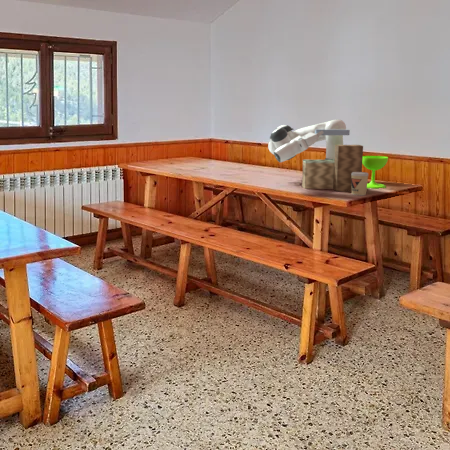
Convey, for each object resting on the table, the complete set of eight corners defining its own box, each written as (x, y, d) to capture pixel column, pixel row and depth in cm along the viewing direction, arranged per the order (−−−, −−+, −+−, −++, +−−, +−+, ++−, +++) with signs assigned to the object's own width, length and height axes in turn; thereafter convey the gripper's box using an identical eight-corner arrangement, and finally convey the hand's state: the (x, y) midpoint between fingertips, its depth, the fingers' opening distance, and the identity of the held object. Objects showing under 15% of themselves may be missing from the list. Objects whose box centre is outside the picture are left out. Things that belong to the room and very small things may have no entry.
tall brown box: (336, 191, 345) (338, 145, 340) (333, 189, 354) (335, 144, 349) (360, 191, 346) (363, 145, 341) (356, 189, 355) (359, 144, 349)
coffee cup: (346, 193, 337) (347, 172, 335) (359, 192, 342) (360, 171, 340) (358, 196, 329) (359, 174, 327) (370, 194, 334) (372, 173, 332)
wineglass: (355, 187, 362) (357, 157, 358) (364, 184, 376) (365, 155, 372) (381, 189, 354) (383, 158, 350) (389, 186, 368) (391, 156, 364)
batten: (316, 135, 341) (316, 129, 340) (315, 134, 344) (315, 129, 343) (349, 135, 342) (349, 129, 341) (348, 134, 344) (348, 129, 344)
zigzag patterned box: (304, 188, 355) (305, 161, 352) (302, 186, 365) (302, 159, 362) (345, 188, 356) (346, 161, 353) (341, 186, 366) (342, 159, 362)
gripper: (300, 146, 354) (321, 135, 353) (306, 149, 334) (328, 137, 333) (295, 137, 353) (316, 125, 352) (301, 140, 333) (323, 127, 332)
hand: (322, 131), depth 342 cm, fingers closed on batten, 3 cm apart
